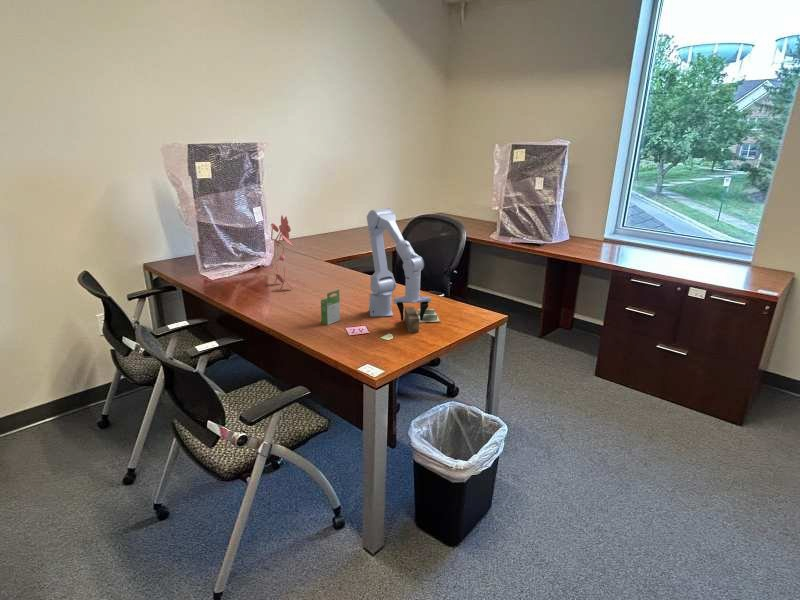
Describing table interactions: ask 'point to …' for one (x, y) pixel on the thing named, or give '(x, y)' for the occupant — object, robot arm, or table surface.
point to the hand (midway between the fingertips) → (411, 319)
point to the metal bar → (411, 320)
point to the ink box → (330, 308)
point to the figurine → (284, 234)
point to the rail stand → (428, 316)
